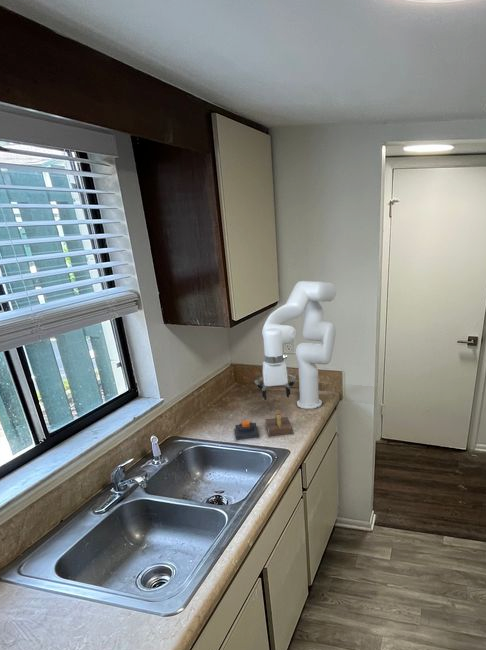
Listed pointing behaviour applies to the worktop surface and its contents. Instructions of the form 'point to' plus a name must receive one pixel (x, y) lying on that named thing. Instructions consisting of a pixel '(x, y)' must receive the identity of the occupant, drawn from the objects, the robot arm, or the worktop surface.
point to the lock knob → (278, 418)
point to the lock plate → (278, 427)
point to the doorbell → (246, 431)
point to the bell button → (245, 423)
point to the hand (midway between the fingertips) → (276, 397)
